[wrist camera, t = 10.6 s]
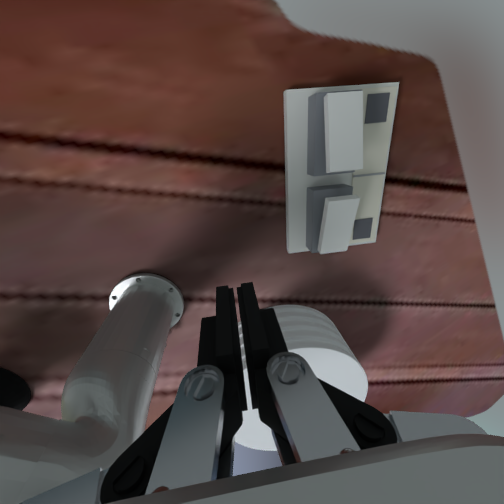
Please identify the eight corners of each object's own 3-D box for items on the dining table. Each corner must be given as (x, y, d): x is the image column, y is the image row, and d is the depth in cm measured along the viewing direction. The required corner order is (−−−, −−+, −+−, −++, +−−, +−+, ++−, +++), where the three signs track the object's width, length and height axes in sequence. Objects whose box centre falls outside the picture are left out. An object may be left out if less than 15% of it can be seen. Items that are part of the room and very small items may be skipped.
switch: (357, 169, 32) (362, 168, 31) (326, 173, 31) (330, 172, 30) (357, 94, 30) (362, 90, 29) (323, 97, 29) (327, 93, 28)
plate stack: (338, 383, 61) (363, 432, 50) (229, 407, 59) (231, 463, 48) (340, 292, 49) (374, 332, 38) (204, 318, 47) (201, 368, 37)
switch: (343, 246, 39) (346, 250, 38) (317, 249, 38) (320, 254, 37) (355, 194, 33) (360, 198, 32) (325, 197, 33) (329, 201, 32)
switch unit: (370, 239, 44) (386, 248, 40) (286, 250, 43) (294, 261, 39) (392, 84, 34) (415, 76, 30) (283, 92, 33) (292, 84, 29)
